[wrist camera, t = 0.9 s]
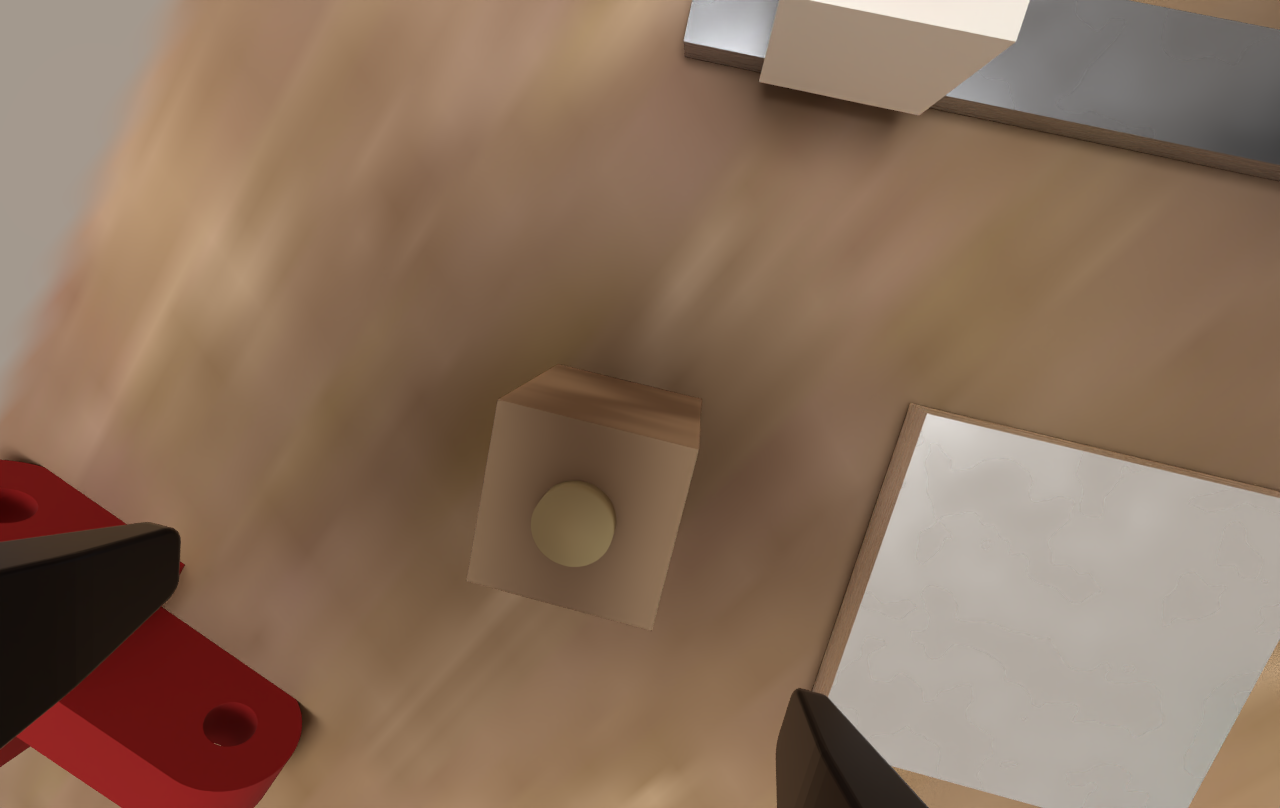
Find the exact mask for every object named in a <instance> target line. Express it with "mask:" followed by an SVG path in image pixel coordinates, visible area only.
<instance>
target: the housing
mask: <svg viewBox="0 0 1280 808" xmlns="http://www.w3.org/2000/svg"><path fill="white" fill-rule="evenodd" d="M701 405H702V399H700V398H696V397H691V396H687V395H683V394H679V393H675V392H671V391H667V390H663V389H659V388H655V387H650V386H646V385H642V384H638V383H634V382H630V381H626V380H622V379H618V378H614V377H609V376H605V375H601V374H597V373H593V372H589V371H585V370H581V369H577V368H573V367H569V366H564V365H560V364H557V365H556V366H554V367H552V368H550V369H549V370H547V371H545V372H544V373H542V374H540V375H539V376H537V377H535V378H533V379H532V380H530V381H528V382H527V383H525V384H523V385H521V386H520V387H518V388H516V389H515V390H513V391H511V392H510V393H508V394H506V395H504V396H503V397H501V398H499V399H498V400H497V406H496V412H495V418H494V424H493V429H492V435H491V441H490V447H489V452H488V458H487V464H486V470H485V476H484V481H483V487H482V493H481V499H480V505H479V510H478V516H477V522H476V528H475V533H474V539H473V545H472V551H471V557H470V562H469V568H468V574H467V580H466V581H468V582H472V583H475V584H479V585H483V586H486V587H490V588H494V589H498V590H501V591H505V592H509V593H512V594H516V595H520V596H523V597H527V598H531V599H535V600H538V601H542V602H546V603H549V604H553V605H557V606H561V607H564V608H568V609H572V610H575V611H579V612H583V613H586V614H590V615H594V616H598V617H601V618H605V619H609V620H612V621H616V622H620V623H623V624H627V625H631V626H635V627H638V628H642V629H646V630H649V631H652V628H653V624H654V621H655V617H656V613H657V609H658V605H659V601H660V598H661V594H662V590H663V586H664V582H665V578H666V575H667V571H668V567H669V563H670V559H671V555H672V551H673V548H674V544H675V540H676V536H677V532H678V528H679V525H680V521H681V517H682V513H683V509H684V505H685V502H686V498H687V494H688V490H689V486H690V482H691V478H692V475H693V471H694V467H695V463H696V459H697V455H698V452H699V440H700V423H701Z"/></svg>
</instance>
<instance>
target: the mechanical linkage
mask: <svg viewBox="0 0 1280 808" xmlns="http://www.w3.org/2000/svg"><path fill="white" fill-rule="evenodd" d="M120 525H127V524H125V523H124V522H123V521H121V520H120V519H118V518H117V517H115V516H114V515H112V514H111V513H110V512H108V511H107V510H105V509H104V508H102V507H101V506H99V505H98V504H97V503H95V502H94V501H92V500H91V499H89V498H88V497H86V496H85V495H84V494H82V493H81V492H79V491H78V490H76V489H75V488H74V487H72V486H71V485H69V484H68V483H66V482H65V481H63V480H62V479H61V478H59V477H58V476H56V475H55V474H53V473H52V472H50V471H49V470H48V469H46V468H44V467H41V466H37V465H33V464H29V463H23V462H17V461H9V460H0V542H4V541H11V540H18V539H25V538H33V537H40V536H47V535H55V534H62V533H69V532H77V531H84V530H91V529H99V528H106V527H113V526H120ZM184 566H185V564H183V563H182V562H180V569H179V575H180V573H181V571H182V569H183V567H184ZM301 730H302V716H301V711H300V708H299V705H298V702H297V700H296V699H294V698H293V697H292V696H290V695H289V694H287V693H286V692H284V691H283V690H281V689H280V688H278V687H277V686H276V685H274V684H273V683H271V682H270V681H268V680H267V679H265V678H264V677H263V676H261V675H260V674H258V673H257V672H255V671H254V670H252V669H251V668H249V667H248V666H247V665H245V664H244V663H242V662H241V661H239V660H238V659H236V658H235V657H234V656H232V655H231V654H229V653H228V652H226V651H225V650H223V649H222V648H220V647H219V646H218V645H216V644H215V643H213V642H212V641H210V640H209V639H207V638H206V637H204V636H203V635H202V634H200V633H199V632H197V631H196V630H194V629H193V628H191V627H190V626H189V625H187V624H186V623H184V622H183V621H181V620H180V619H178V618H177V617H175V616H174V615H173V614H171V613H170V612H168V611H167V610H165V609H164V608H162V606H161V607H160V608H159V609H158V610H157V611H156V612H154V613H153V614H152V615H151V616H150V617H149V618H148V619H147V620H146V621H145V622H144V623H143V624H142V625H141V626H140V627H139V628H138V629H137V630H136V631H135V632H134V633H132V634H131V635H130V636H129V637H128V638H127V639H126V640H125V641H124V642H123V643H122V644H121V645H120V646H119V647H118V648H117V649H116V650H115V651H114V652H113V653H112V654H110V655H109V656H108V657H107V658H106V659H105V660H104V661H103V662H102V663H101V664H100V665H99V666H98V667H97V668H96V669H95V670H94V671H93V672H92V673H90V674H89V675H88V676H87V677H86V678H85V679H84V680H83V681H82V682H81V683H80V684H79V685H77V686H76V687H75V688H74V689H73V690H72V691H70V692H69V693H68V694H67V695H66V696H65V697H63V698H62V699H61V700H60V701H59V702H58V703H56V704H55V705H54V706H53V707H51V708H50V709H49V710H48V711H47V712H45V713H44V714H43V715H42V716H40V717H39V718H38V719H37V720H36V721H34V722H33V723H32V724H31V725H29V726H28V727H27V728H26V729H25V730H23V731H22V732H21V733H20V734H18V735H17V736H16V737H15V738H14V739H12V740H11V741H10V742H9V743H8V744H6V745H5V746H4V747H3V748H1V749H0V767H1V766H3V765H4V764H5V763H7V762H8V761H10V760H11V759H13V758H14V757H16V756H17V755H18V754H20V753H21V752H23V751H24V750H26V749H27V748H28V747H30V746H31V747H32V748H34V749H35V750H37V751H38V752H40V753H41V754H43V755H44V756H46V757H47V758H49V759H50V760H52V761H53V762H55V763H56V764H58V765H59V766H61V767H62V768H64V769H65V770H67V771H68V772H69V773H71V774H72V775H74V776H75V777H77V778H78V779H80V780H81V781H83V782H84V783H86V784H87V785H89V786H90V787H92V788H93V789H95V790H96V791H98V792H99V793H101V794H102V795H104V796H105V797H107V798H108V799H110V800H111V801H113V802H114V803H116V804H117V805H119V806H120V807H121V808H254V807H255V806H256V805H257V804H258V802H259V801H260V800H261V799H262V798H263V796H264V795H265V793H266V792H267V790H268V789H269V787H270V786H271V784H272V783H273V782H274V780H275V779H276V777H277V776H278V774H279V773H280V771H281V770H282V768H283V767H284V766H285V764H286V763H287V761H288V760H289V758H290V757H291V755H292V754H293V752H294V751H295V749H296V747H297V744H298V742H299V739H300V736H301ZM214 743H216V744H219V745H221V746H219V745H216V744H214Z"/></svg>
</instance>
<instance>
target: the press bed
mask: <svg viewBox="0 0 1280 808" xmlns="http://www.w3.org/2000/svg"><path fill="white" fill-rule="evenodd" d="M1279 639H1280V491H1276V490H1272V489H1268V488H1263V487H1259V486H1255V485H1251V484H1247V483H1243V482H1238V481H1234V480H1230V479H1226V478H1222V477H1217V476H1213V475H1209V474H1205V473H1201V472H1197V471H1192V470H1188V469H1184V468H1180V467H1176V466H1171V465H1167V464H1163V463H1159V462H1155V461H1151V460H1146V459H1142V458H1138V457H1134V456H1130V455H1125V454H1121V453H1117V452H1113V451H1109V450H1105V449H1100V448H1096V447H1092V446H1088V445H1084V444H1079V443H1075V442H1071V441H1067V440H1063V439H1059V438H1054V437H1050V436H1046V435H1042V434H1038V433H1033V432H1029V431H1025V430H1021V429H1017V428H1013V427H1008V426H1004V425H1000V424H996V423H992V422H987V421H983V420H979V419H975V418H971V417H967V416H962V415H958V414H954V413H950V412H946V411H941V410H937V409H933V408H929V407H925V406H921V405H916V404H912V403H910V406H909V409H908V412H907V415H906V417H905V420H904V423H903V426H902V429H901V432H900V435H899V438H898V441H897V444H896V447H895V450H894V453H893V456H892V459H891V461H890V464H889V467H888V470H887V473H886V476H885V479H884V482H883V485H882V488H881V491H880V494H879V497H878V500H877V503H876V505H875V508H874V511H873V514H872V517H871V520H870V523H869V526H868V529H867V532H866V535H865V538H864V541H863V544H862V547H861V549H860V552H859V555H858V558H857V561H856V564H855V567H854V570H853V573H852V576H851V579H850V582H849V585H848V588H847V591H846V593H845V596H844V599H843V602H842V605H841V608H840V611H839V614H838V617H837V620H836V623H835V626H834V629H833V632H832V635H831V637H830V640H829V643H828V646H827V649H826V652H825V655H824V658H823V661H822V664H821V667H820V670H819V673H818V676H817V679H816V681H815V684H814V687H813V690H812V691H813V692H817V693H821V694H824V695H826V696H827V697H828V698H829V699H830V700H831V701H832V702H833V703H834V704H835V705H836V706H837V708H838V709H839V710H840V711H841V712H842V713H843V714H844V715H845V716H846V717H847V719H848V720H849V721H850V722H851V723H852V724H853V725H854V726H855V727H856V728H857V730H858V731H859V732H860V733H861V734H862V735H863V736H864V737H865V738H866V739H867V741H868V742H869V743H870V744H871V745H872V746H873V747H874V748H875V749H876V750H877V752H878V753H879V754H880V755H881V756H882V757H883V758H884V759H885V760H886V761H887V763H888V764H889V765H890V766H894V767H897V768H901V769H905V770H908V771H912V772H915V773H919V774H923V775H926V776H930V777H934V778H937V779H941V780H944V781H948V782H952V783H955V784H959V785H963V786H966V787H970V788H973V789H977V790H981V791H984V792H988V793H992V794H995V795H999V796H1002V797H1006V798H1010V799H1013V800H1017V801H1021V802H1024V803H1028V804H1031V805H1035V806H1039V807H1042V808H1188V807H1189V805H1190V803H1191V801H1192V799H1193V798H1194V796H1195V794H1196V792H1197V790H1198V788H1199V787H1200V785H1201V783H1202V781H1203V779H1204V777H1205V776H1206V774H1207V772H1208V770H1209V768H1210V766H1211V765H1212V763H1213V761H1214V759H1215V757H1216V755H1217V753H1218V752H1219V750H1220V748H1221V746H1222V744H1223V742H1224V741H1225V739H1226V737H1227V735H1228V733H1229V731H1230V730H1231V728H1232V726H1233V724H1234V722H1235V720H1236V718H1237V717H1238V715H1239V713H1240V711H1241V709H1242V707H1243V706H1244V704H1245V702H1246V700H1247V698H1248V696H1249V695H1250V693H1251V691H1252V689H1253V687H1254V685H1255V683H1256V682H1257V680H1258V678H1259V676H1260V674H1261V672H1262V671H1263V669H1264V667H1265V665H1266V663H1267V661H1268V660H1269V658H1270V656H1271V654H1272V652H1273V650H1274V648H1275V647H1276V645H1277V643H1278V641H1279Z"/></svg>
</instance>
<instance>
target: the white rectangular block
mask: <svg viewBox="0 0 1280 808" xmlns="http://www.w3.org/2000/svg"><path fill="white" fill-rule="evenodd" d="M1029 1H1030V0H779V2H778V6H777V10H776V14H775V18H774V22H773V26H772V30H771V35H770V39H769V43H768V47H767V51H766V55H765V59H764V63H763V67H762V71H761V75H760V79H759V82H762V83H767V84H772V85H776V86H781V87H786V88H791V89H795V90H800V91H805V92H810V93H814V94H819V95H824V96H829V97H833V98H838V99H843V100H848V101H853V102H857V103H862V104H867V105H872V106H876V107H881V108H886V109H891V110H895V111H900V112H905V113H910V114H914V115H920V114H922V113H923V112H924V111H925V110H927V109H928V108H929V107H931V106H932V105H933V104H935V103H936V102H937V101H939V100H940V99H941V98H943V97H944V96H945V95H947V94H948V93H949V92H950V91H952V90H953V89H954V88H956V87H957V86H958V85H960V84H961V83H962V82H964V81H965V80H966V79H968V78H969V77H970V76H972V75H973V74H974V73H975V72H977V71H978V70H979V69H981V68H982V67H983V66H985V65H986V64H987V63H989V62H990V61H991V60H993V59H994V58H995V57H997V56H998V55H999V54H1000V53H1002V52H1003V51H1004V50H1006V49H1007V48H1008V47H1010V46H1011V45H1012V44H1014V43H1015V42H1016V40H1017V37H1018V34H1019V31H1020V28H1021V25H1022V22H1023V19H1024V16H1025V13H1026V10H1027V7H1028V4H1029Z"/></svg>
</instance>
